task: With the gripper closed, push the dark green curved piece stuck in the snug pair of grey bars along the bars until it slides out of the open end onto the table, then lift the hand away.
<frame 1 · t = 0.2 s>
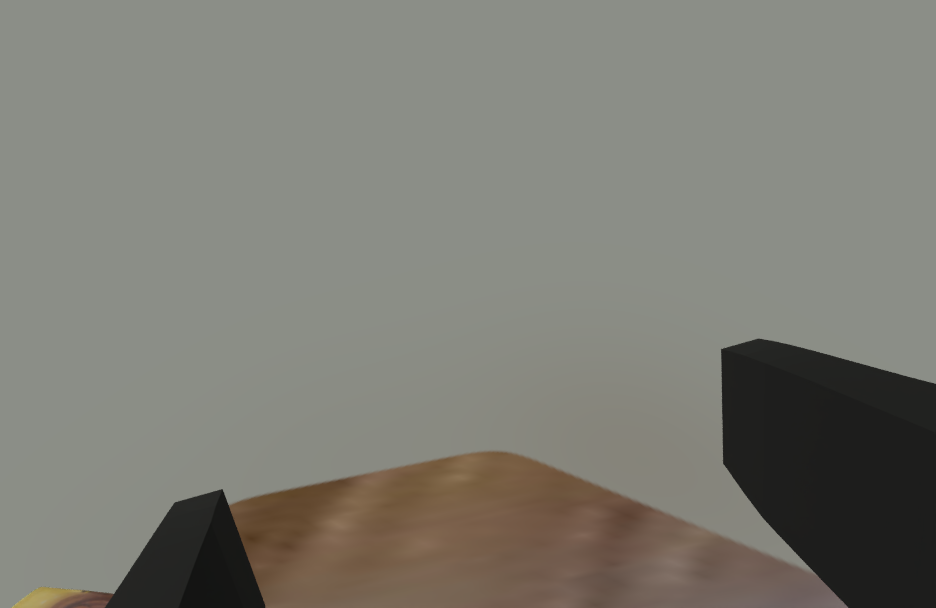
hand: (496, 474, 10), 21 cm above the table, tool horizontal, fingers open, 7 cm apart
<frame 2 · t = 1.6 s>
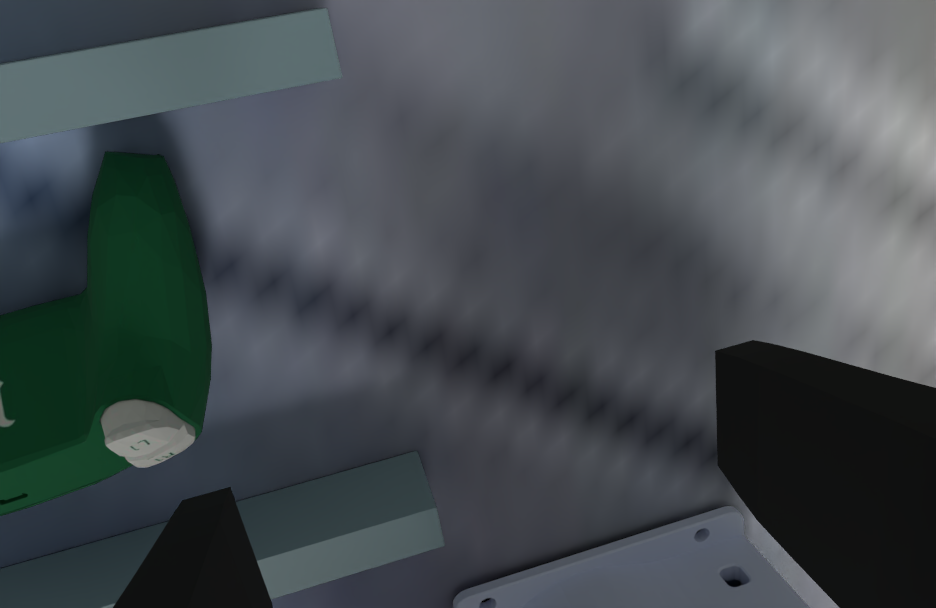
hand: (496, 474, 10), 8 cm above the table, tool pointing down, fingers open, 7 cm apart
pair of grey bars: (5, 371, 16), on the table
dark green curved piece: (9, 317, 16), on the table
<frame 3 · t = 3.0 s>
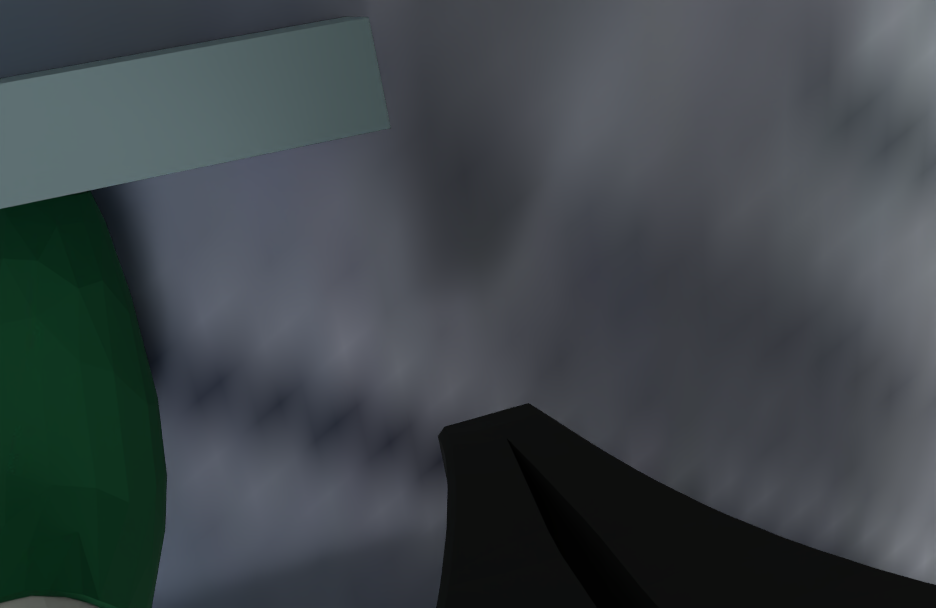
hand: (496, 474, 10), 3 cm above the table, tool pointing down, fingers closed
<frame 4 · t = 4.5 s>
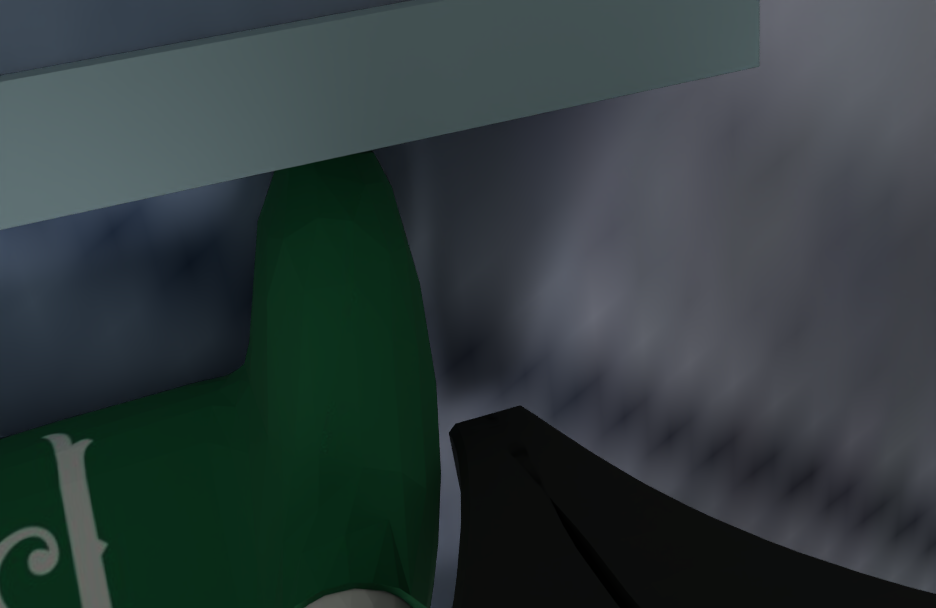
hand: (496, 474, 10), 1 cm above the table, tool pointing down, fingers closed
pair of grey bars: (136, 519, 11), on the table
dark green curved piece: (94, 402, 10), on the table, touching gripper
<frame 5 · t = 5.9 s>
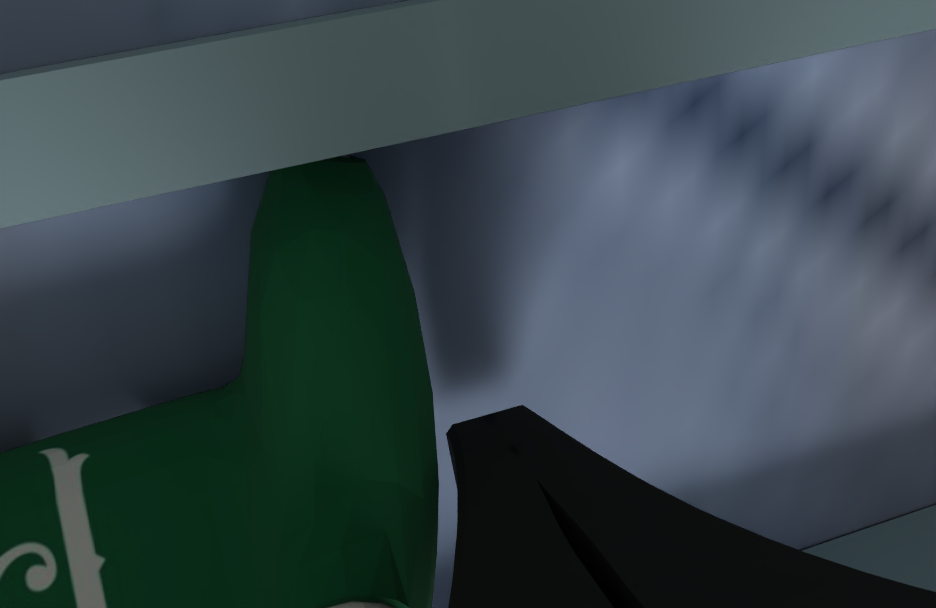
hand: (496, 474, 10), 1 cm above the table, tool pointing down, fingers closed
pair of grey bars: (643, 374, 12), on the table
dark green curved piece: (92, 415, 10), on the table, touching gripper
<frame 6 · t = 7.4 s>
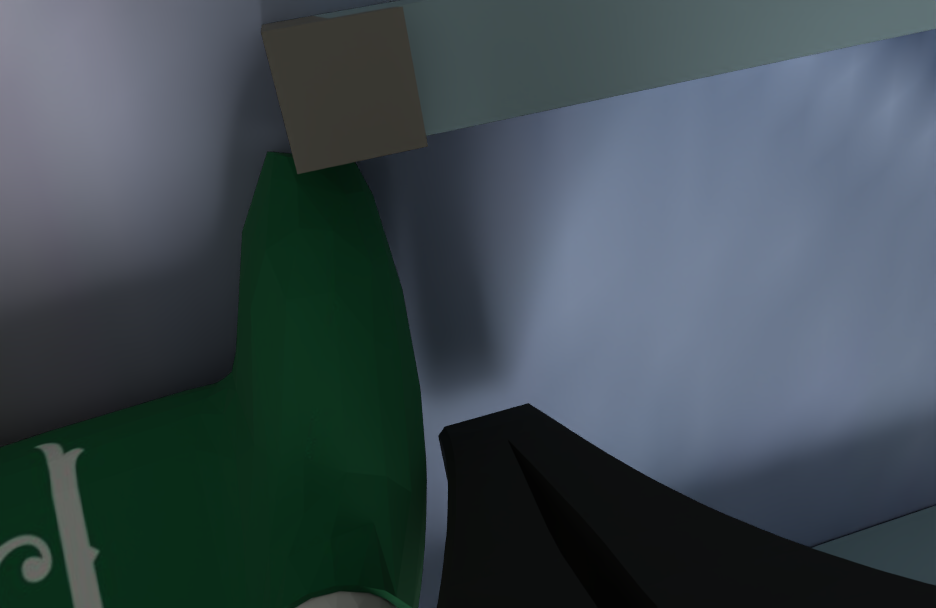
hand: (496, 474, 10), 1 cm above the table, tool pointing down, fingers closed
pair of grey bars: (882, 307, 13), on the table
dark green curved piece: (88, 411, 10), on the table
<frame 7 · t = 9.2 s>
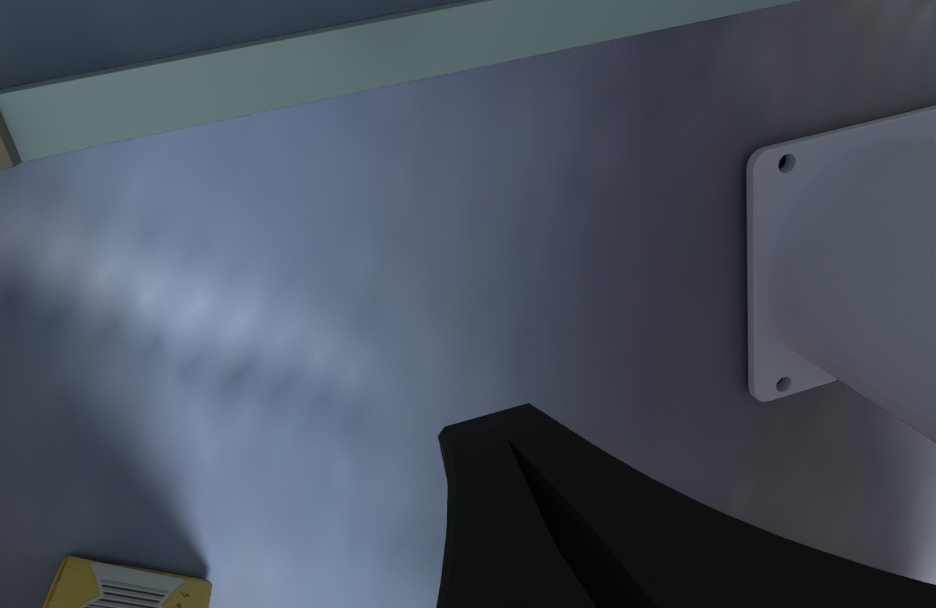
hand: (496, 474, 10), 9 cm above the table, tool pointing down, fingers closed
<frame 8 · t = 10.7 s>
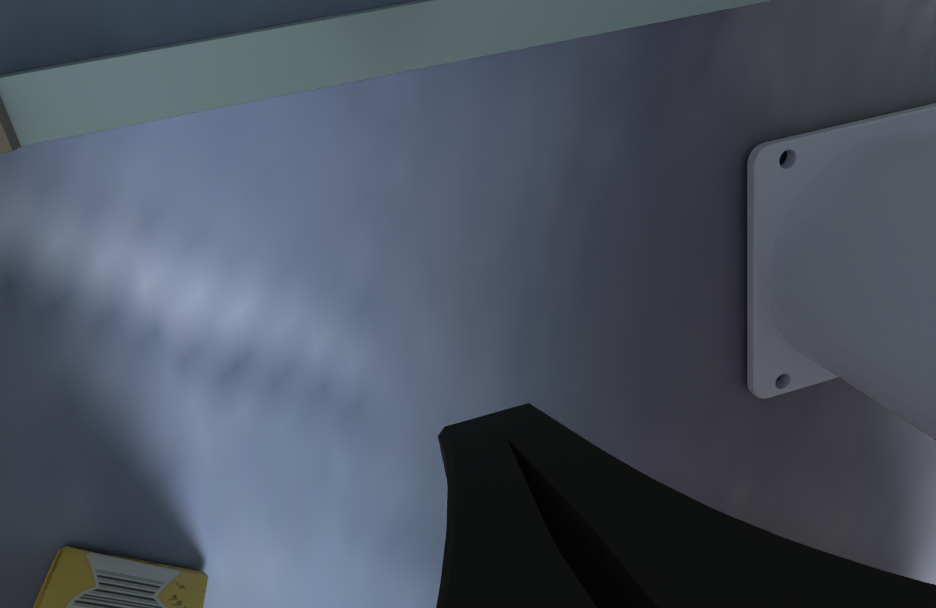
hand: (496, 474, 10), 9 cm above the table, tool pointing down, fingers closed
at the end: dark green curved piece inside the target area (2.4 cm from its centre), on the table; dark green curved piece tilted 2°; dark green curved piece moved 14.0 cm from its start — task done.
